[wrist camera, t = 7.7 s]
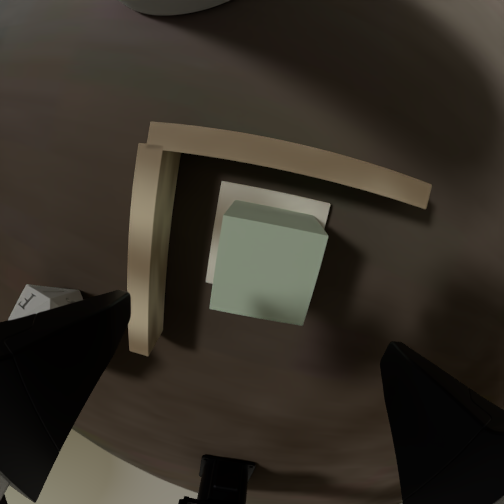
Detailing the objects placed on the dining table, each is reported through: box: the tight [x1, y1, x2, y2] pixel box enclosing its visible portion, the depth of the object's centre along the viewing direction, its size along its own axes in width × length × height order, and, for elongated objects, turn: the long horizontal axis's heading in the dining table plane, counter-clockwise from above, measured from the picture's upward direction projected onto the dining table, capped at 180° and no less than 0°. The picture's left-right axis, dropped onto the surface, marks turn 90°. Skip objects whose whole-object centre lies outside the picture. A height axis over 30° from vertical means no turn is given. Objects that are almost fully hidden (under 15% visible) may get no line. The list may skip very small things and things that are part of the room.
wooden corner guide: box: [127, 122, 432, 356], centre depth 18 cm, size 15×16×4 cm
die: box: [8, 284, 83, 320], centre depth 19 cm, size 8×9×10 cm
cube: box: [209, 200, 328, 326], centre depth 16 cm, size 5×5×5 cm
